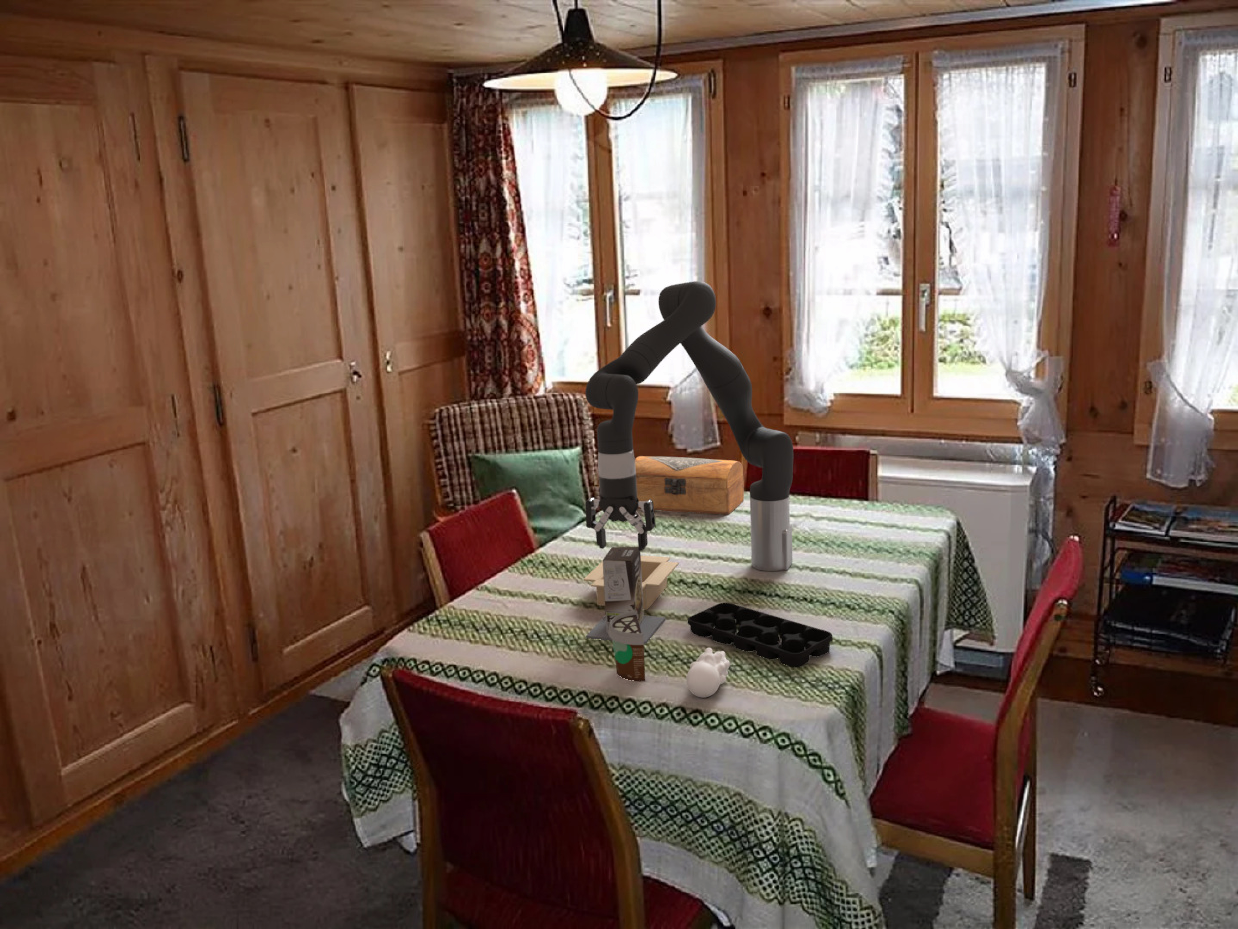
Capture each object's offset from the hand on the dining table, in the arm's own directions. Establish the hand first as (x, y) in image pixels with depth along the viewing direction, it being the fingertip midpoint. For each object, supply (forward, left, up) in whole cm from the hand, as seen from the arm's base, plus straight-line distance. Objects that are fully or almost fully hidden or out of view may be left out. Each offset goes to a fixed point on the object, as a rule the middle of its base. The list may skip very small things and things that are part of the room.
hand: (622, 548), depth 221 cm
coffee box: (0, 0, -17) cm, 17 cm away
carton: (+5, -19, -18) cm, 26 cm away
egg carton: (-28, 0, -19) cm, 34 cm away
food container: (-7, +19, -18) cm, 27 cm away
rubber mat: (0, 0, -18) cm, 18 cm away
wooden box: (+14, -90, -18) cm, 93 cm away
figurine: (-24, +23, -18) cm, 37 cm away
